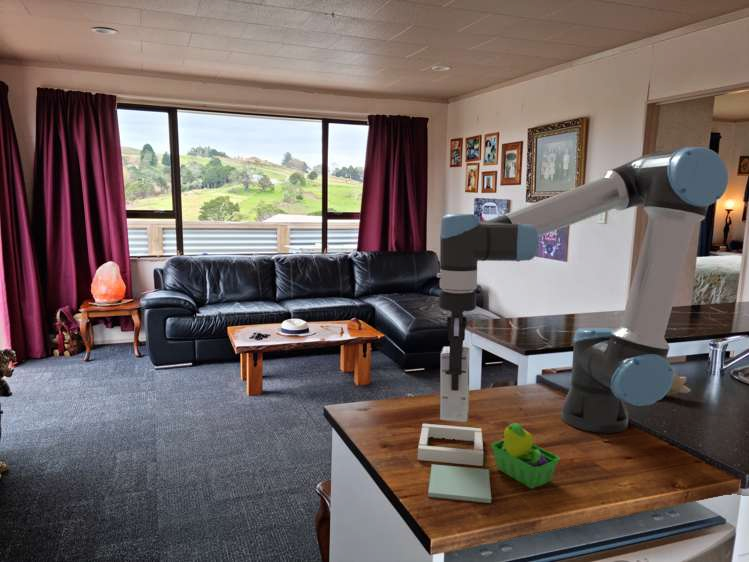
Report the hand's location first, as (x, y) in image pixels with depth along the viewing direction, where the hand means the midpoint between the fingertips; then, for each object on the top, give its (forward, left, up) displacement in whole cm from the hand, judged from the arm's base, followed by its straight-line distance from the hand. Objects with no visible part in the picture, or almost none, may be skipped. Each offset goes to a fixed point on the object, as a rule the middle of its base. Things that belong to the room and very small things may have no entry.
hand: (454, 398), depth 118 cm
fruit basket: (-13, +9, -11) cm, 20 cm away
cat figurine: (-56, -45, -11) cm, 73 cm away
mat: (-2, +15, -11) cm, 19 cm away
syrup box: (0, 0, -4) cm, 4 cm away
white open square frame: (0, 0, -11) cm, 11 cm away
